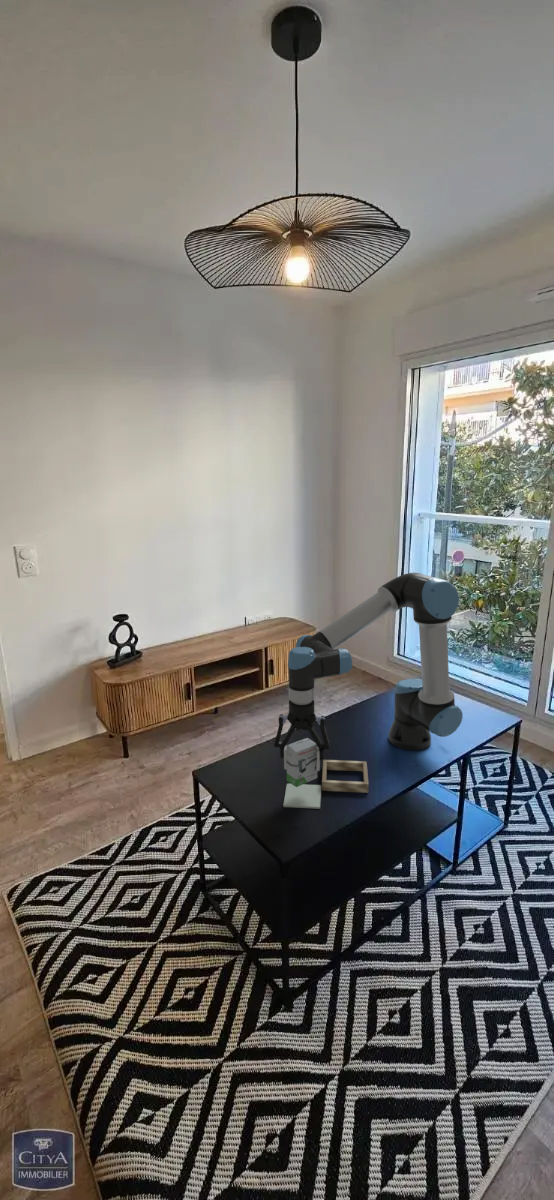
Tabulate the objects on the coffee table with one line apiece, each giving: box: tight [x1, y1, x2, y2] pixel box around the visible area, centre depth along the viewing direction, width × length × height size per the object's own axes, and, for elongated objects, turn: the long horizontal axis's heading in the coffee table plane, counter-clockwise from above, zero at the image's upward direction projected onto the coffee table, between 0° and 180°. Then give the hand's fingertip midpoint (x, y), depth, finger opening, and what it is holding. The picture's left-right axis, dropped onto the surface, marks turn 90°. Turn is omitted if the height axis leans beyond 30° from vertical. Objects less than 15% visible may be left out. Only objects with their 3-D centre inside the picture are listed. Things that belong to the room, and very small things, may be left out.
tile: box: [282, 783, 322, 810], centre depth 159 cm, size 11×11×1 cm
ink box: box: [286, 737, 318, 787], centre depth 156 cm, size 9×5×12 cm, turn 126°
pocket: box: [321, 759, 370, 794], centre depth 166 cm, size 14×13×3 cm
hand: (302, 767), depth 156 cm, fingers closed on ink box, 9 cm apart
